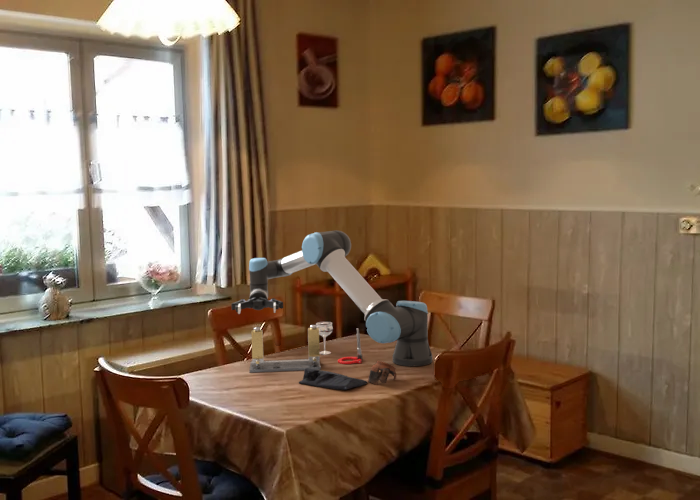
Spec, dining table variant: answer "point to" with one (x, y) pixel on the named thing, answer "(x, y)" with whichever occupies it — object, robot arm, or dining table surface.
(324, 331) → the wineglass
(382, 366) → the brown crumpled piece
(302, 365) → the bolt plate
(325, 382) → the dark folded cloth
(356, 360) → the tow hook
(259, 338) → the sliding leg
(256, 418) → the dining table surface
